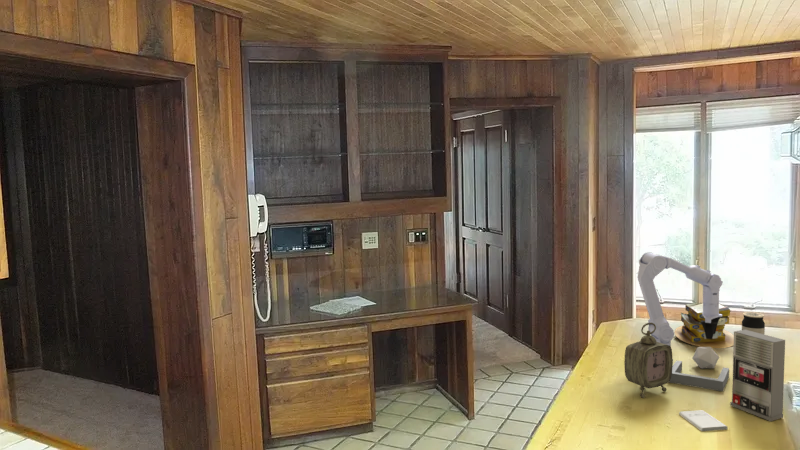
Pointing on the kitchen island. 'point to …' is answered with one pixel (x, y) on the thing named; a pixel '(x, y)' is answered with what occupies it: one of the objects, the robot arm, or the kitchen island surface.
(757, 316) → the travel mug
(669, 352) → the tabletop clock
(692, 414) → the external hard drive
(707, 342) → the stack of yellow books
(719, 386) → the grey bracket
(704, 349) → the die
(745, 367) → the cassette tape recorder
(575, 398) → the kitchen island surface
